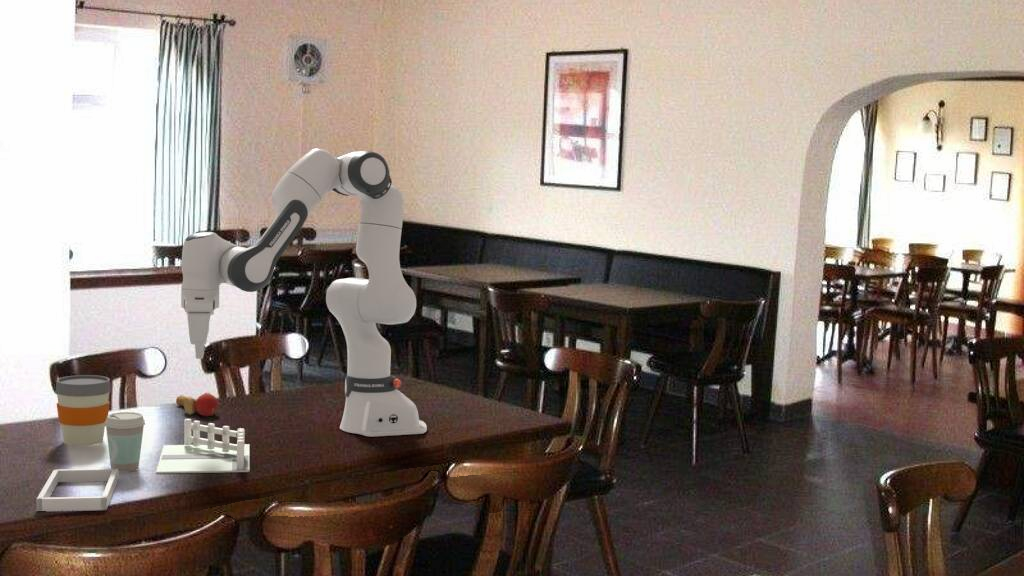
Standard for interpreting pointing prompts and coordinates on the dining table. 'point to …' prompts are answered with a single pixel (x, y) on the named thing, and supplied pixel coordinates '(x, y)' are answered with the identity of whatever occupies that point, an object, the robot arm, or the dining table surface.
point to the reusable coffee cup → (83, 408)
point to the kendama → (199, 404)
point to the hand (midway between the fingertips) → (199, 357)
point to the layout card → (199, 459)
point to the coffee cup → (124, 440)
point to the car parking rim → (77, 503)
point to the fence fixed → (240, 449)
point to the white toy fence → (209, 435)
